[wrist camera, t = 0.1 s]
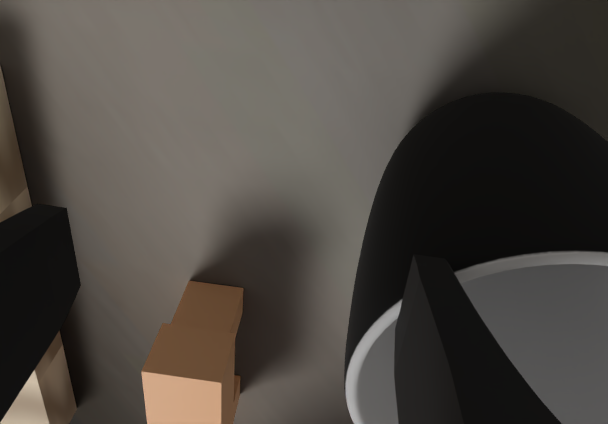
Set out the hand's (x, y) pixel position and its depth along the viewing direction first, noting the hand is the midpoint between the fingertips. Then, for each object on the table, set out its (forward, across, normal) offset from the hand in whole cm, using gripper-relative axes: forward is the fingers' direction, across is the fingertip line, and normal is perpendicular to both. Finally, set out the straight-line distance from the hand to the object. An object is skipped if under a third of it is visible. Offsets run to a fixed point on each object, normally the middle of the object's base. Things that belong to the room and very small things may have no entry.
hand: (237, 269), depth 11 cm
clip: (+10, +3, +14) cm, 17 cm away
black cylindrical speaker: (+10, -8, +4) cm, 14 cm away
